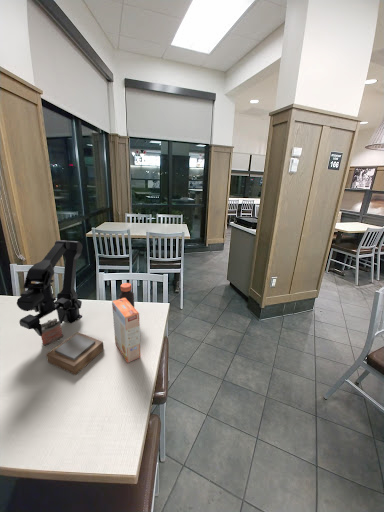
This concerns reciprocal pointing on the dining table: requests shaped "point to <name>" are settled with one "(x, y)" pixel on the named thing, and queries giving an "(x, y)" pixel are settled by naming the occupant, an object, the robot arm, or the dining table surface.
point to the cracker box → (126, 329)
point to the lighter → (51, 332)
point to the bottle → (127, 293)
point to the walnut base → (75, 352)
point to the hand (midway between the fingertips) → (51, 329)
